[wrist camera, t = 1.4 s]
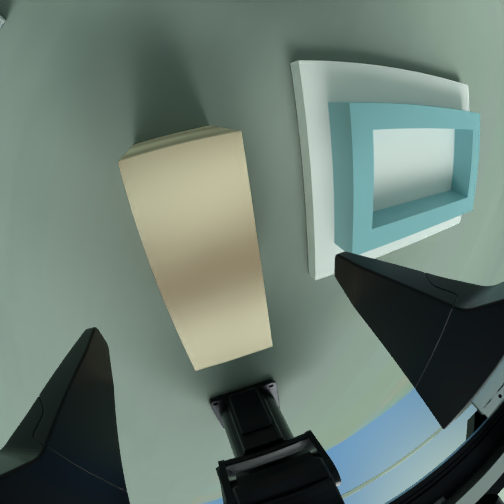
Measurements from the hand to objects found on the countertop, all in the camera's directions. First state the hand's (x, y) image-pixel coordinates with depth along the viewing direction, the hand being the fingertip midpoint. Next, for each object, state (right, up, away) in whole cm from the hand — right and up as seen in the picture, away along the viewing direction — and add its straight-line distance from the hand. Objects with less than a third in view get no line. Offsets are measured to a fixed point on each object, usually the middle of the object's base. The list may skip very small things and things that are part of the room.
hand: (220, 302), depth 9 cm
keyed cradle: (+13, +9, +9) cm, 18 cm away
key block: (-2, +3, +6) cm, 7 cm away
